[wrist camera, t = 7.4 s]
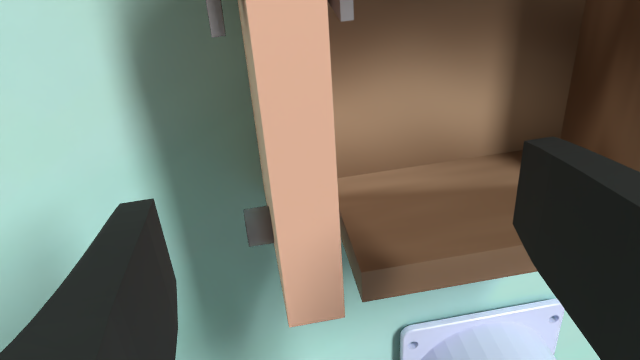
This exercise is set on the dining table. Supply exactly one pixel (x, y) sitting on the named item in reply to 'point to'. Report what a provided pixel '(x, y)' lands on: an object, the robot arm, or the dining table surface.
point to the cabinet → (464, 124)
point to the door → (296, 152)
